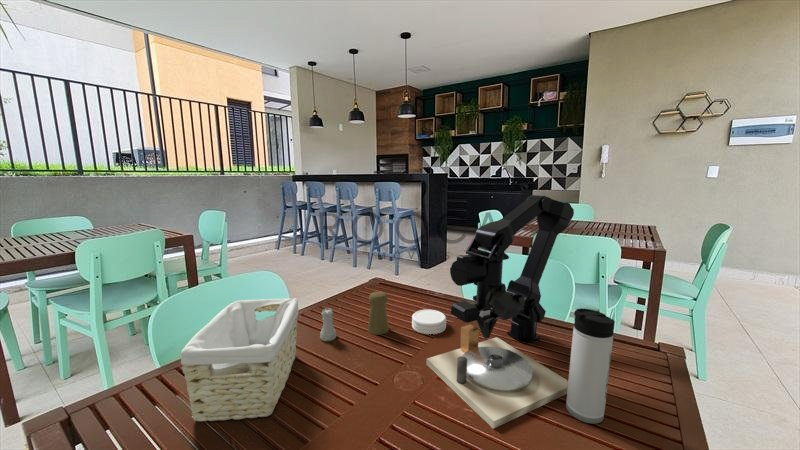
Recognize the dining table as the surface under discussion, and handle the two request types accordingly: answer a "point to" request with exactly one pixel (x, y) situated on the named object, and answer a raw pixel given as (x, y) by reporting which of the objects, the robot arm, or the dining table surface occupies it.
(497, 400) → the birch base board
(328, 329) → the white chess piece
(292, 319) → the storage basket
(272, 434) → the dining table surface
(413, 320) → the coaster
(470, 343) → the flange plate
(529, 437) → the dining table surface
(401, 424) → the dining table surface
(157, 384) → the dining table surface
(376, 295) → the cork
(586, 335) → the travel mug
